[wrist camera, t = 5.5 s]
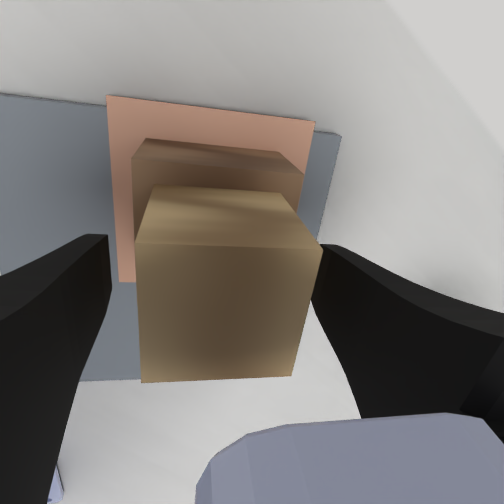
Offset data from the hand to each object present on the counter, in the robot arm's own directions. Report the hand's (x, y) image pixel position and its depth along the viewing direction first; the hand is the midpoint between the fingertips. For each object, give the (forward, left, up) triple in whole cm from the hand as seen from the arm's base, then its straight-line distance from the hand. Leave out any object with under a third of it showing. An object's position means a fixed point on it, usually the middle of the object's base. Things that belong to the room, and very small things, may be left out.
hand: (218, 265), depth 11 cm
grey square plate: (-2, -4, -6) cm, 8 cm away
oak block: (0, 0, -2) cm, 2 cm away
